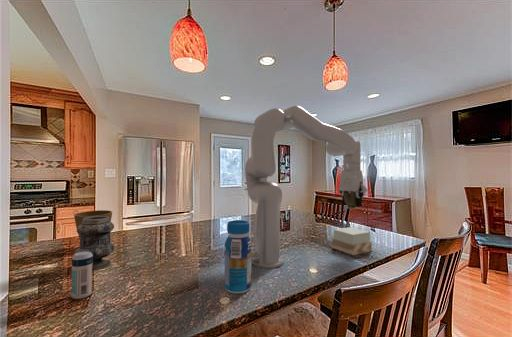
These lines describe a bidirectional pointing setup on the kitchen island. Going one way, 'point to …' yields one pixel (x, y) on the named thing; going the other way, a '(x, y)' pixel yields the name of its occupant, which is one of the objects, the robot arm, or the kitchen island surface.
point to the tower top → (351, 236)
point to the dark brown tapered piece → (350, 199)
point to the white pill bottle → (81, 275)
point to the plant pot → (82, 215)
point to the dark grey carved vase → (96, 239)
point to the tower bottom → (351, 247)
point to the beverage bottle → (238, 257)
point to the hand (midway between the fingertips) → (351, 205)
